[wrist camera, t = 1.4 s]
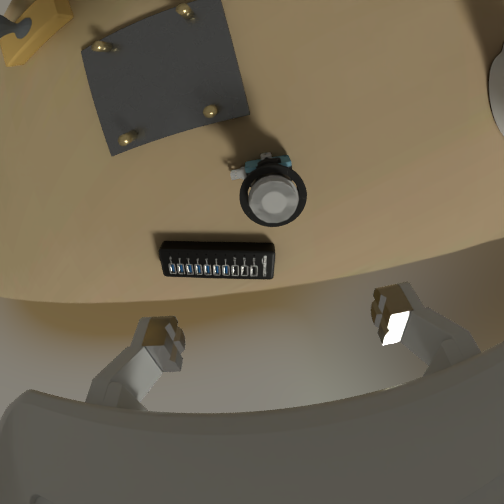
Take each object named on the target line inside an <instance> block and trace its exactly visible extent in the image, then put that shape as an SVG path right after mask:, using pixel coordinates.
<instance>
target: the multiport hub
mask: <svg viewBox="0 0 504 504" xmlns="http://www.w3.org/2000/svg"><path fill="white" fill-rule="evenodd" d="M159 255H160V260H161V265H162V270H163V274H164V275H165V276H168V277H194V278H227V279H272V278H273V276H274V264H275V246H274V244H273V243H255V242H199V241H164V242H163V243H162V245H161V247H160V249H159Z"/></svg>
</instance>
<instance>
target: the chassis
mask: <svg viewBox="0 0 504 504" xmlns="http://www.w3.org/2000/svg"><path fill="white" fill-rule="evenodd" d="M81 54H82V58H83V63H84V67H85V71H86V75H87V79H88V82H89V86H90V90H91V93H92V97H93V100H94V104H95V107H96V111H97V114H98V117H99V120H100V123H101V127H102V130H103V133H104V136H105V139H106V142H107V144H108V147H109V150H110V153H111V156H114V155H117V154H119V153H122V152H125V151H127V150H130V149H132V148H135V147H138V146H141V145H143V144H146V143H149V142H152V141H155V140H158V139H161V138H164V137H167V136H170V135H173V134H177V133H180V132H183V131H186V130H190V129H193V128H197V127H201V126H204V125H208V124H212V123H216V122H220V121H224V120H228V119H233V118H237V117H242V116H246V115H250V111H249V107H248V103H247V99H246V95H245V91H244V86H243V82H242V78H241V74H240V70H239V66H238V62H237V58H236V54H235V51H234V47H233V43H232V39H231V35H230V31H229V28H228V24H227V20H226V17H225V13H224V9H223V6H222V2H221V0H197V1H193V2H190V3H187V4H186V3H181V4H179V5H178V6H177V7H174V8H171V9H169V10H166V11H163V12H160V13H158V14H155V15H153V16H150V17H148V18H145V19H143V20H141V21H138V22H136V23H134V24H132V25H129V26H127V27H125V28H123V29H121V30H119V31H117V32H115V33H113V34H111V35H109V36H107V37H105V38H103V39H102V40H100V41H95V42H94V43H93V44H92V45H91V46H89V47H87V48H86V49H84V50H82V51H81Z"/></svg>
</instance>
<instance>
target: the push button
mask: <svg viewBox="0 0 504 504" xmlns="http://www.w3.org/2000/svg"><path fill="white" fill-rule="evenodd" d="M264 154H266V155H264ZM260 155H261V159H258V160H252V161H247V162H245V167H241V169H236V170H231V179H232V180H235V179H240V178H242V179H244V181H243V183H242V185H241V189H240V204H241V207H242V209H243V211H244V213H245V214H246V215H247V216H248V217H249V218H250V219H251V220H252V221H254V222H255V223H257V224H260V225H263V226H267V227H278V226H282V225H286V224H288V223H290V222H292V221H293V220H295V219H296V218H297V217H298V216H299V215H300V214H301V212H302V211H303V209H304V207H305V204H306V199H307V192H306V187H305V185H304V183H303V180H302V179H301V177H300V176H299V175H298V174H297V173H296V172H295V171H294V170H292V165H291V160H290V158H289V156H288V155H282V156H278V157H271V152H268V153H262V154H260ZM235 171H237V172H235ZM235 174H237V175H235ZM236 176H237V177H236ZM292 180H293V181H294V182H295V184H296V185H297V188H296V187H295V186H294V184H293V183H292V182H291V181H292ZM249 187H251V190H250V192H249V197H248V189H249Z"/></svg>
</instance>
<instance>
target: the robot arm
mask: <svg viewBox="0 0 504 504" xmlns="http://www.w3.org/2000/svg"><path fill="white" fill-rule="evenodd" d="M489 96H490V103H491V108H492V112H493V116H494V119H495V121H496V124H497V126H498V128H499V130H500V131H501V133H502V134H503V136H504V45H503V49H502V52H501V53H500V54H499V55H498V56H497V57H496V58H495V59H494V61H493V63H492V66H491V70H490V76H489ZM373 297H374V299H375V300H374V301H373V302H372V304H371V317H372V321H373V323H374V325H375V326H377V327H378V328H379V329H378V335H379V338H380V340H381V343H382V345H386V344H390V343H394V342H399V341H401V343H402V344H403V345H405V346H406V347H407V348H408V349H409V350H411V351H412V352H413V353H414V354H415V355H417V356H418V357H419V358H420V359H421V360H422V361H424V362H425V363H426V364H427V365H428V366H429V367H428V368H427V370H426V372H425V373H424V375H423V377H421V378H418V379H415V380H412V381H409V382H406V383H402V384H400V385H396V386H393V387H389V388H386V389H382V390H379V391H375V392H371V393H367V394H363V395H359V396H354V397H350V398H345V399H340V400H336V401H331V402H325V403H319V404H313V405H308V406H300V407H293V408H285V409H277V410H267V411H255V412H240V413H169V412H153V411H148V410H147V409H146V408H145V407H144V406H143V405H142V404H141V403H140V402H141V401H142V399H143V398H144V397H145V395H146V394H147V393H148V392H149V390H150V389H151V388H152V386H153V385H154V384H155V382H156V381H157V380H158V379H159V377H160V376H161V375H162V373H163V372H175V371H181V367H182V360H183V358H182V356H181V353H182V352H183V351H184V350H185V336H184V333H183V331H182V329H181V328H180V327H178V326H177V325H178V321H177V319H176V317H175V316H160V317H142V318H141V319H140V320H139V323H138V326H137V329H136V331H135V334H134V337H133V340H132V343H131V346H130V347H127V348H125V350H123V351H122V352H121V353H120V354H119V355H118V356H117V357H116V358H115V359H114V360H113V361H112V362H111V363H110V364H108V365H107V366H106V367H105V368H104V369H103V370H102V371H101V372H100V373H99V374H98V375H97V376H96V377H95V378H94V379H93V380H92V383H91V386H90V389H89V392H88V395H87V398H86V401H85V402H81V401H76V400H71V399H67V398H62V397H58V396H54V395H50V394H47V393H43V392H39V391H36V390H32V389H31V390H27V391H26V392H24V393H23V394H21V395H20V396H19V397H18V398H17V399H15V400H14V401H13V402H12V403H11V404H10V405H9V406H8V407H7V409H6V410H5V412H4V414H3V416H2V418H1V420H0V504H504V341H503V342H501V343H499V344H497V345H495V346H493V347H491V348H489V349H487V350H485V351H483V352H481V351H480V349H479V348H478V346H477V344H476V342H475V340H474V339H473V337H472V335H471V334H470V332H469V331H468V330H467V329H465V328H463V327H462V326H460V325H458V324H457V323H455V322H453V321H451V320H450V319H448V318H446V317H444V316H443V315H441V314H439V313H437V312H436V311H434V310H432V309H431V308H429V307H426V308H425V307H424V305H423V304H422V302H421V300H420V299H419V297H418V295H417V294H416V292H415V291H414V289H413V288H412V286H411V285H410V283H409V282H403V283H398V284H394V285H389V286H385V287H379V288H375V290H374V293H373Z"/></svg>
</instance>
